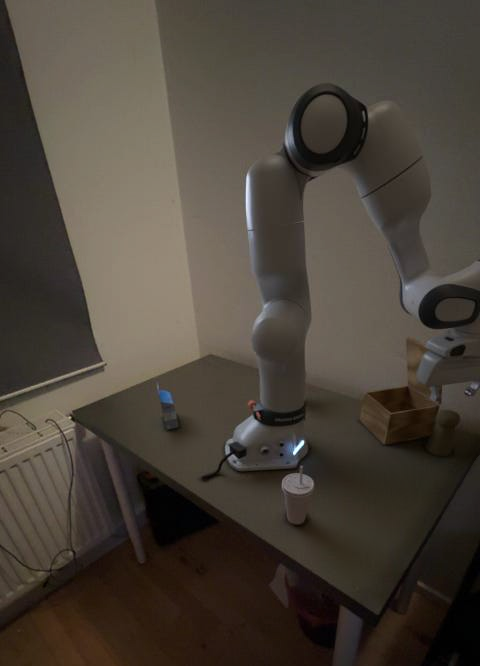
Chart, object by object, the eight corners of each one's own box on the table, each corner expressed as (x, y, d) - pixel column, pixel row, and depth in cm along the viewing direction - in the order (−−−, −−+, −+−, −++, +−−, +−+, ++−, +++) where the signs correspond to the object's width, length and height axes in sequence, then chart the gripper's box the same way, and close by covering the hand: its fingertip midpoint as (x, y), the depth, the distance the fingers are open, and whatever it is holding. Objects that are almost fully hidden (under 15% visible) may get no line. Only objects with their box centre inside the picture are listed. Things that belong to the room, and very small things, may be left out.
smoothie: (304, 534, 70) (308, 480, 62) (275, 522, 73) (276, 470, 65) (316, 513, 74) (321, 461, 67) (288, 503, 77) (290, 452, 70)
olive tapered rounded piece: (425, 440, 95) (435, 405, 89) (450, 444, 93) (462, 408, 87) (426, 453, 90) (436, 416, 84) (452, 457, 88) (465, 420, 82)
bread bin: (384, 444, 94) (390, 414, 89) (359, 420, 105) (364, 392, 100) (431, 436, 96) (439, 406, 91) (402, 413, 107) (408, 385, 102)
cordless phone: (179, 427, 107) (172, 391, 100) (165, 430, 106) (158, 394, 99) (175, 414, 114) (169, 380, 107) (162, 416, 113) (156, 382, 106)
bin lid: (439, 353, 83) (442, 352, 83) (405, 337, 94) (408, 336, 94) (438, 405, 91) (441, 404, 91) (407, 384, 102) (410, 383, 102)
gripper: (499, 332, 80) (479, 386, 88) (420, 341, 77) (406, 397, 84) (523, 341, 75) (500, 397, 83) (440, 351, 72) (423, 409, 79)
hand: (452, 397), depth 83 cm, fingers open, 8 cm apart
